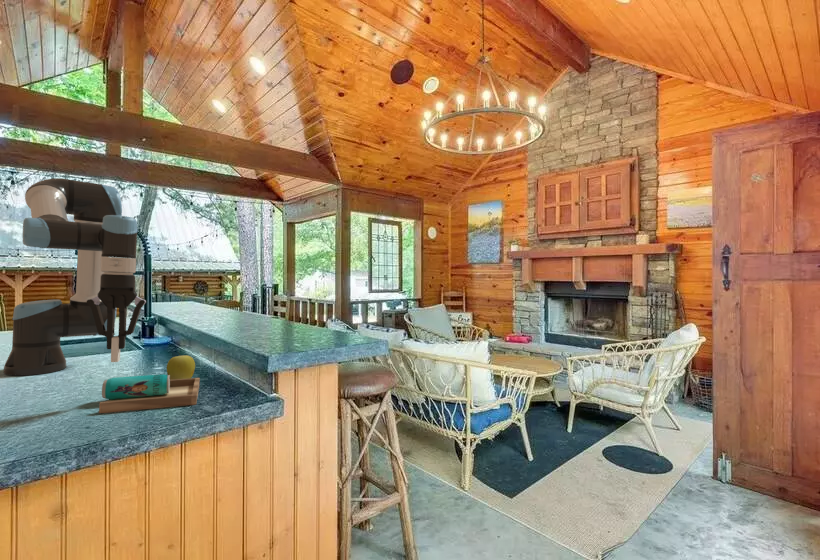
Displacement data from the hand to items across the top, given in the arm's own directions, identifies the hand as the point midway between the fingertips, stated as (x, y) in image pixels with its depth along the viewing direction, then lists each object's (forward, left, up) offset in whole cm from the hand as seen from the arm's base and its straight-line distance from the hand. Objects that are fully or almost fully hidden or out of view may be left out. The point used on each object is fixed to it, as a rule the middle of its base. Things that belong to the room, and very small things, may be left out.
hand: (115, 360), depth 106 cm
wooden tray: (0, +9, -11) cm, 14 cm away
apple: (-17, +14, -11) cm, 25 cm away
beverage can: (0, -3, -8) cm, 8 cm away
